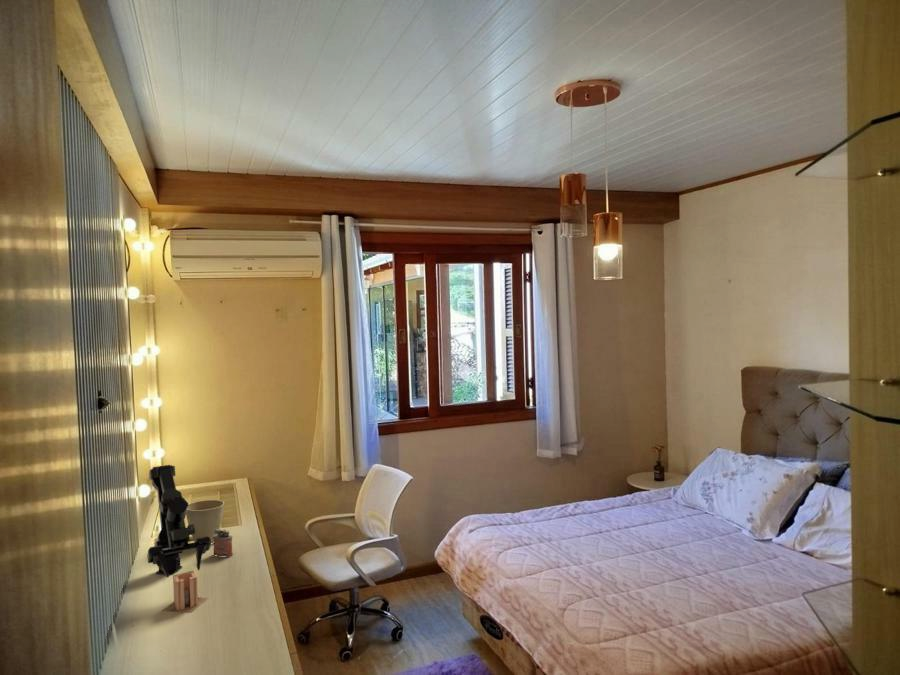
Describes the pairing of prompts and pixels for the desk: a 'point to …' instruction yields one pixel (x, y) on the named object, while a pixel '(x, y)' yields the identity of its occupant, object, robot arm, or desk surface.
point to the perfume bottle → (222, 543)
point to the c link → (185, 582)
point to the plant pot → (205, 517)
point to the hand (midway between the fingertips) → (183, 573)
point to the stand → (186, 603)
